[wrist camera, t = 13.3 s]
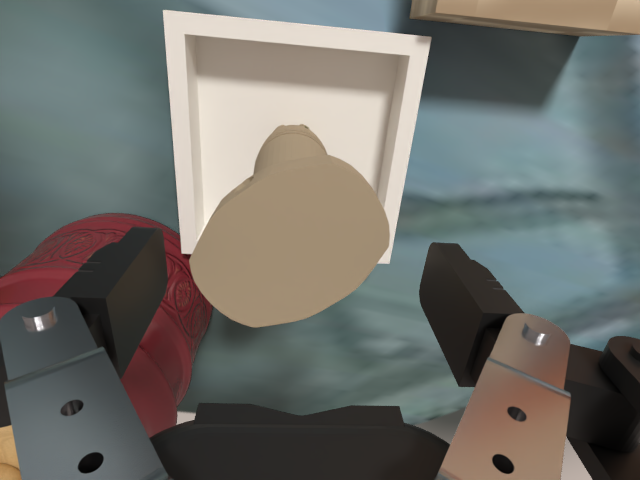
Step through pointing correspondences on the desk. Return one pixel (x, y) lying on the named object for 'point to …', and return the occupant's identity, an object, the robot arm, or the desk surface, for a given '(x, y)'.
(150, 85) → the desk surface
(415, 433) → the robot arm
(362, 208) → the handle
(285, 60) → the tray
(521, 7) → the socket block
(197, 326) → the canister
